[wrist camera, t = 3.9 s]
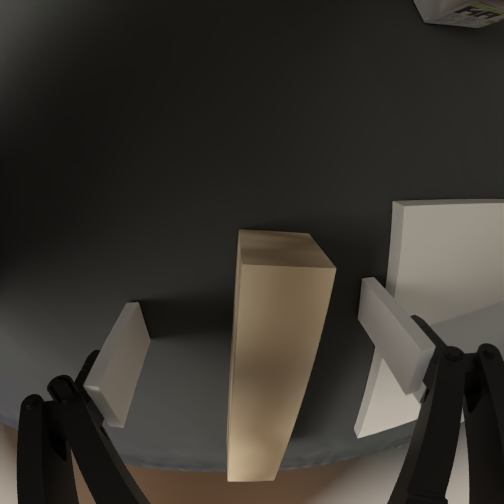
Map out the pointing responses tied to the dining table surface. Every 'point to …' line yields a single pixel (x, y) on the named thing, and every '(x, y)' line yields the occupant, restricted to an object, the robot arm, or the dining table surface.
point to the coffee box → (461, 12)
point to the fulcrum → (439, 291)
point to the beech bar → (272, 344)
